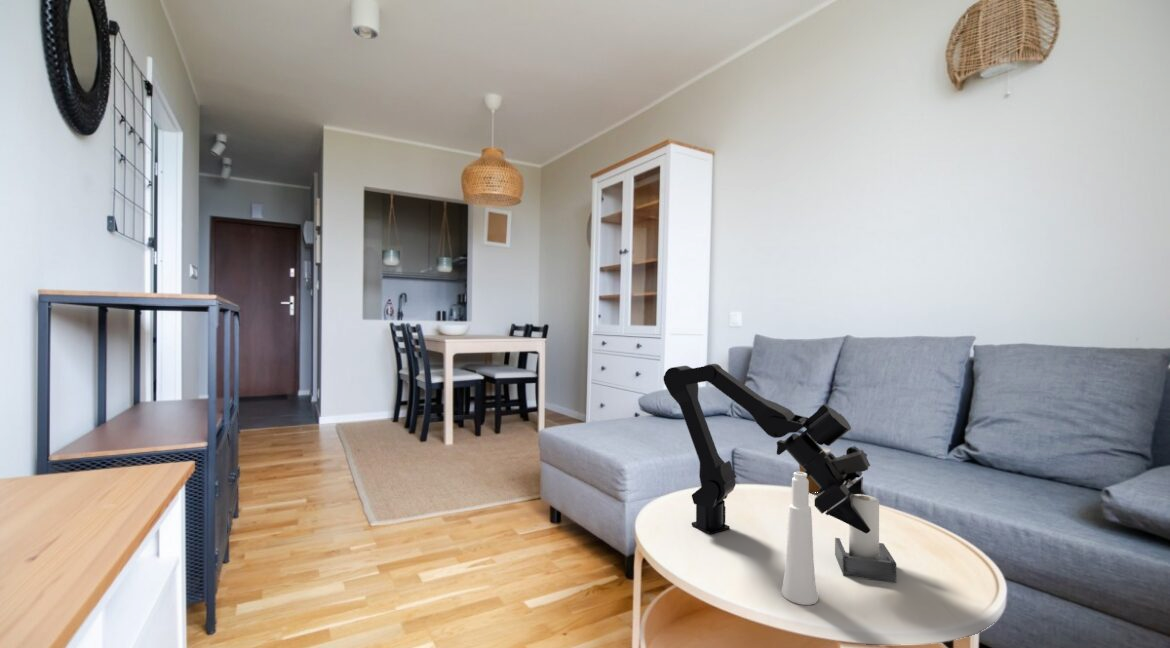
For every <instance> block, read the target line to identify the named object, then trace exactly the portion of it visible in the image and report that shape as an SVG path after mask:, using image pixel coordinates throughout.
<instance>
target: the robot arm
mask: <svg viewBox="0 0 1170 648" xmlns="http://www.w3.org/2000/svg"><path fill="white" fill-rule="evenodd" d="M704 382H707V383H710V384H711V385H712V386H714V388H716V389H717V390H718V391H720V392H722V393H723V394H724V395H725V396H727V397H729V398H730V399H731V400H732V402H735V403H736V404H738V405H739V406H740V407H741V408H743V409H744V410H745V411H747V412H748V414H750V416H751V417H752V419H753V420H754V421H755V423H756V425H758V426H759V427H760V428H761V429H762V431H763V432H765V434H767V435H768V437H769V436H770V437H771V438H774V439H775V438H776V439H778V438H783V437H785V436H787V435H788V434H791V435H790V436H788V437H787V438H786V439H785V440H782V439H780V440H778V441H776V445H777V447H776V455H778V456H780V455H782V454H783V453H784V452H785V451H787V452H788V454H789V455H790V456H791V457H792V459H794V461H795V462H796V463H797V464H798V466H799V465H800V466H801V467H802V468H803V469H804V470H805V472H804V473H806V474H807V477H808V476H810V477H811V478H812V479H813V480H814V482H815V483H816V484H817V485H818V486H819V487H820V489H819V490H818V491H819V492H820V494H818V495H816V497H815V498H814V507H815V508H816V509H817V510H818V511H819V513H820V514H824V513H825V515H826V516H830V517H832V518H834V519H837V520H839V521H841V522H842V523H845V524H847V525H848V526H849V525H851V526H853V527H854V528H856V529H858V530H860V531H862V532H864V533H868V532H870V528H869V527H868V525H867V524H866V522H865V521H864V519H863V518H862V517H861V515H860V514H859V512H858V511H857V510H856V508H855V507H854V505H853V499H852V495H853V494H862V495H867V494H866V492H865V491H864V489H863V486H864V485H863V483H864V477H863V476H862V475H863V472H865V471H868V470H869V467H871V463H870V462H869V460H868V457H867V456H868V454H867V453H865V451H864V450H863V449H859V448H858V447H857V446H856V445H853V446H849V447H847V449H846V452H845V453H846V454H843V455H841V456H838V457H836V456H835V455H834V454H833V453H832V452H831V454H830V453H828V454H826V453H825V451H823V449H822V448H821V447H822V445H825V446H827V447H829V446H832V445H833V444H834V443H835V442H836V441H838V440H839V439H841V438H842V437H843V436H845V434H847V433H848V432H850V431H851V430H852V428H851V427H852V426H851V425H850V423H849V421H848V420H847V418H845V417H844V416H843V415H842V414H841V413H839V412H838V411H837V410H835V409H833V408H831V407H830V406H829V405H828V404H827V403H824V404H822V405H821V406H820V407H819V408H818V409H817V410H816V412H814V413H813V414H812V415H811V416H809V417H807V416H803V415H800V414H795V413H794V412H793V411H792V410H790V409H789V408H787V407H785V406H783V405H781V404H779V403H777V402H774V401H771V400H769V399H766V398H765V397H763V396H761V395H759V394H758V393H757V392H755V391H754V390H752V389H751V388H749V387H748V386H747V385H745V384H744V383H743V382H741V381H740V380H739V379H737V378H736V377H735V376H733V375H732V374H731V373H729V372H727V371H726V370H725V369H723V368H722V366H721V365H719V364H718V363H711V364H706V365H703V366H700V367H694V368H693V367H690V366H689V365H680V366H674V367H670V368H668V369H667V370H666V371H665V373H664V375H663V383H664V386H665V387H666V390H667V391H668V393H669V395H670V397H672V399H674V401H675V402H676V403H677V404H678V406H679V408H680V410H681V413H682V417H683V419H684V422H685V424H686V428H687V430H688V433H689V436H690V439H691V441H692V444H693V447H694V450H695V453H696V455H697V458H698V461H699V472H698V473H699V475H698V476H699V482H700V486H701V487H699V488H698V489H697V490H696V491H694V492H693V493H692V494H691V499H692V502H693V504H694V505H696V506H695V510H696V511H695V513H696V514H695V521H693V522H691V526H693V527H695V528H697V529H699V530H701V531H703V532H705V533H706V534H708V535H712V534H713V535H714V534H717V533H719V532H723V531H726V530H730V526H729V525H727V524H726V505H725V503H726V502H725V500H726V499H727V498H728V495H730V493H732V492H733V491H734V489H735V487H736V479H737V475H736V474H735V472H734V470H733V467H732V462H731V461H730V460H728V461H726V462H725V461H724V460H723V459H722V458H721V456H720V455H719V453H718V449H717V447H716V445H715V442H714V439H713V436H712V434H711V431H710V429H709V425H708V423H707V420H706V417H705V415H704V411H703V409H702V406H701V404H700V401H699V383H704ZM804 428H805V430H804V431H803V432H802V433H800V434H797V433H798V432H799V431H801V430H802V429H804Z"/></svg>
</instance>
